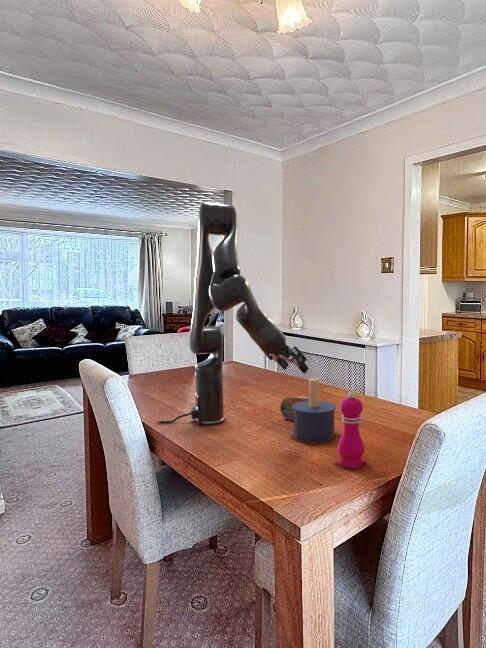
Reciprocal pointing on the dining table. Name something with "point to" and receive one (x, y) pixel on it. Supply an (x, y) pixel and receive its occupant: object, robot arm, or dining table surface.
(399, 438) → the dining table surface
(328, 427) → the can
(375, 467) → the dining table surface
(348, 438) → the pepper mill
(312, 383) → the lid
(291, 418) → the tin
